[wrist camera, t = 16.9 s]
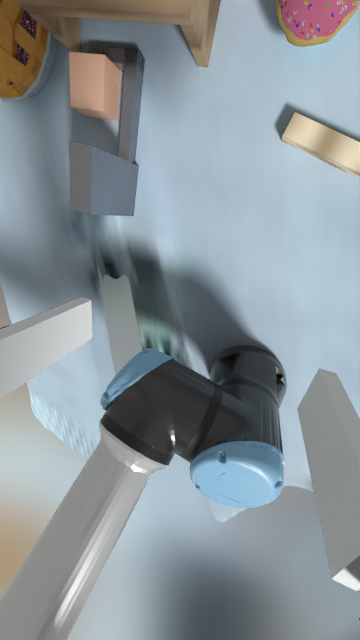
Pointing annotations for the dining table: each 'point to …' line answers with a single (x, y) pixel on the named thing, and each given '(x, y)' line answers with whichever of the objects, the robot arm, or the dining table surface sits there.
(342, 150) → the plain stick
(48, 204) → the dining table surface
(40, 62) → the pie
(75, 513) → the robot arm
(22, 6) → the shelf
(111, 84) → the block
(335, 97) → the dining table surface
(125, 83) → the hook tool
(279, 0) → the cupcake
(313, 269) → the dining table surface
